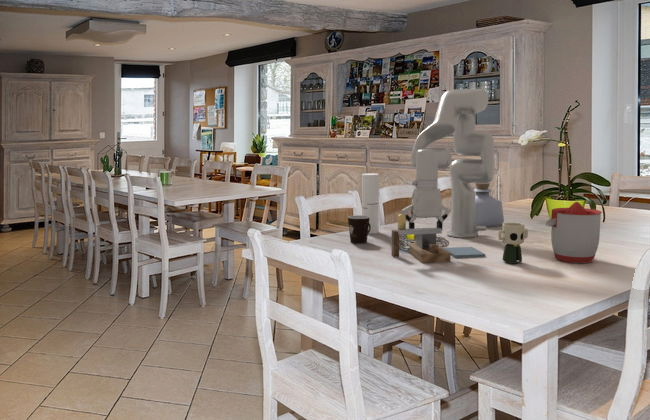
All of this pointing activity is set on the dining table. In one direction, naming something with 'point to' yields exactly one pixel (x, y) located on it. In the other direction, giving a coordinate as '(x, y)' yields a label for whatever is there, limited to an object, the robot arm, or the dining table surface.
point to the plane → (421, 251)
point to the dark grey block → (425, 240)
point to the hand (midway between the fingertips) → (425, 233)
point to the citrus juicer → (575, 233)
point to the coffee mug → (358, 228)
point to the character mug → (512, 241)
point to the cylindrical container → (371, 200)
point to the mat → (464, 252)
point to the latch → (404, 231)
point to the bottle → (487, 207)
